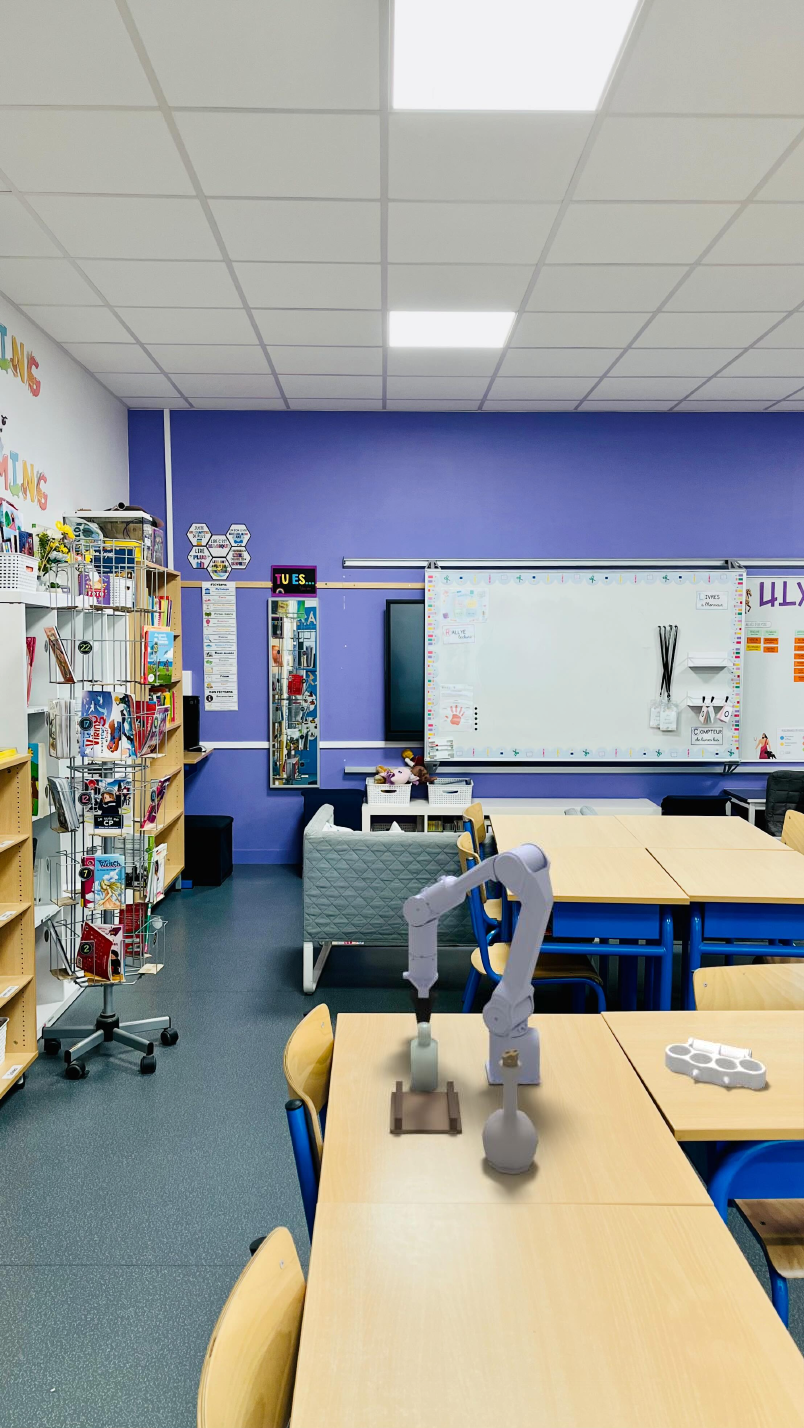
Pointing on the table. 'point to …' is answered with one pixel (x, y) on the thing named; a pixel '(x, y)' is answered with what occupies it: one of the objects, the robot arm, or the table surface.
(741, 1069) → the knuckle duster
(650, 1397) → the table surface
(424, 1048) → the sage bottle
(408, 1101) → the walnut cradle
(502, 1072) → the potion bottle
